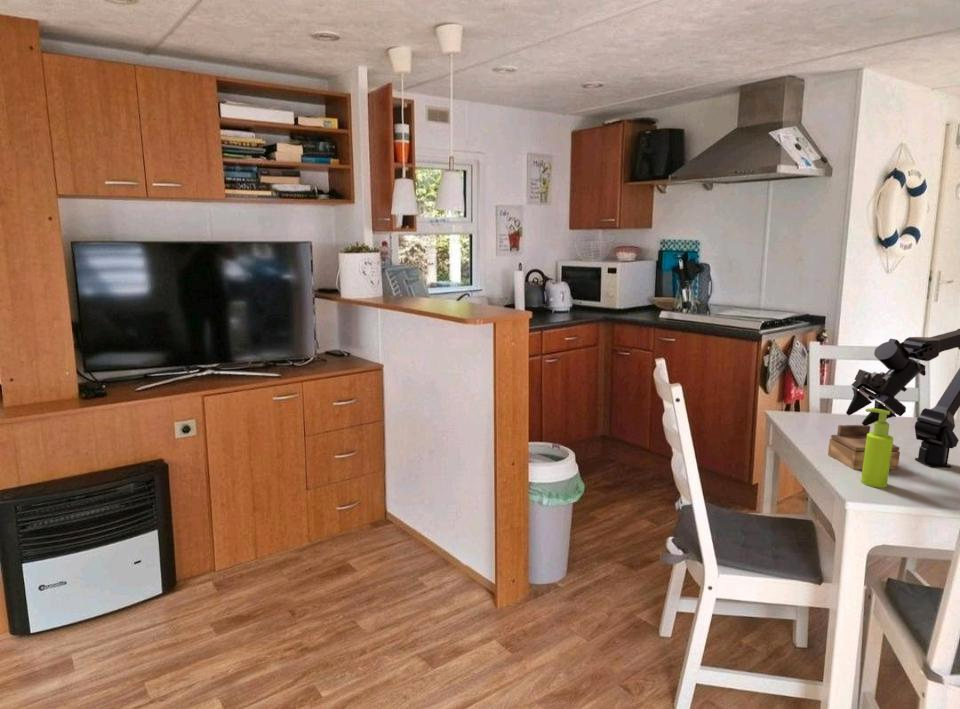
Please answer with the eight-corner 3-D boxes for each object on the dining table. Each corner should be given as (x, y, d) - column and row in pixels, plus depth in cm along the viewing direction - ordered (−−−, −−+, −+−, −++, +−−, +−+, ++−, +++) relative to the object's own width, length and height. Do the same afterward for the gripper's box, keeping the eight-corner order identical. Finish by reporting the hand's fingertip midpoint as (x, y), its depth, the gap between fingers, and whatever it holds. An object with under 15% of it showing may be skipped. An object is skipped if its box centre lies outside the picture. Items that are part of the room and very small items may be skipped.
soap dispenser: (858, 476, 174) (867, 405, 171) (888, 483, 170) (898, 410, 166) (854, 482, 170) (864, 409, 166) (885, 489, 166) (895, 414, 162)
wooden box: (869, 454, 192) (871, 438, 191) (897, 468, 181) (900, 452, 180) (827, 454, 192) (829, 438, 191) (853, 469, 180) (855, 452, 179)
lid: (871, 437, 191) (873, 424, 190) (899, 450, 180) (900, 437, 179) (831, 438, 190) (832, 425, 190) (855, 450, 179) (857, 437, 178)
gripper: (858, 352, 184) (819, 392, 188) (894, 367, 166) (849, 412, 170) (887, 376, 185) (847, 415, 188) (925, 394, 167) (880, 437, 170)
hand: (855, 419), depth 179 cm, fingers open, 9 cm apart
